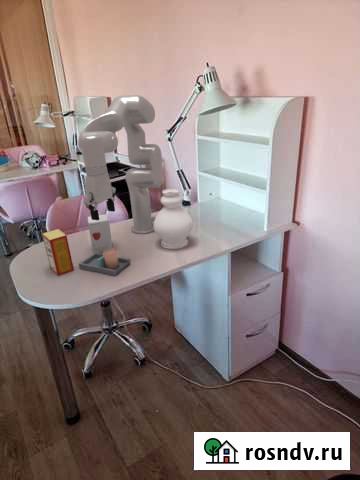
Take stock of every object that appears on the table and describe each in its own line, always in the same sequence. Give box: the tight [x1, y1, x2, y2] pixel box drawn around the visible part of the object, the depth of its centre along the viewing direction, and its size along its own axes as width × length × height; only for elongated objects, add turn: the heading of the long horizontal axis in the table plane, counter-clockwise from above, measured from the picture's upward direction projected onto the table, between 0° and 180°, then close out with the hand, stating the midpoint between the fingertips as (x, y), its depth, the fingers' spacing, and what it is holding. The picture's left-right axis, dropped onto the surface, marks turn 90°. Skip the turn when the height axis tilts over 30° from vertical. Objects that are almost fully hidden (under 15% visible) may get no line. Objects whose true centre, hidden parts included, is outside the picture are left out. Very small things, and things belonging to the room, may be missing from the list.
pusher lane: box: [78, 253, 131, 277], centre depth 138 cm, size 11×18×2 cm, turn 64°
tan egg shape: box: [102, 248, 119, 270], centre depth 135 cm, size 6×6×7 cm
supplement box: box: [87, 213, 114, 254], centre depth 152 cm, size 9×9×15 cm
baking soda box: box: [41, 228, 75, 277], centre depth 135 cm, size 10×6×16 cm
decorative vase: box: [153, 188, 194, 250], centre depth 150 cm, size 18×18×25 cm
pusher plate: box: [97, 255, 105, 268], centre depth 137 cm, size 8×1×4 cm, turn 154°
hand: (103, 215), depth 128 cm, fingers open, 9 cm apart
